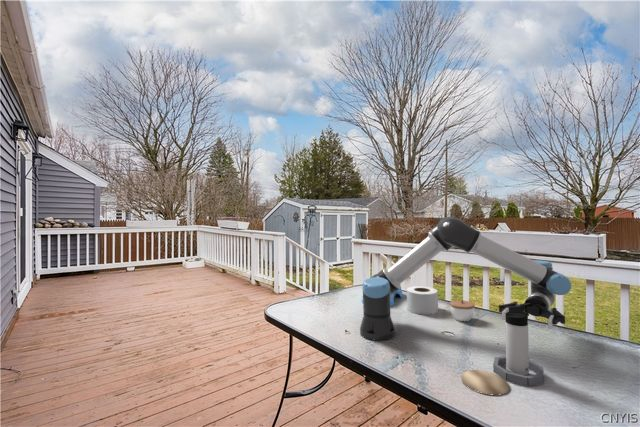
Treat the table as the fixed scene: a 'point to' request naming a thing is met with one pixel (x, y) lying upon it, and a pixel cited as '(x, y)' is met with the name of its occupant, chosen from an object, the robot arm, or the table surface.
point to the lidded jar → (462, 310)
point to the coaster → (485, 382)
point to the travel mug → (517, 342)
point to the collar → (518, 378)
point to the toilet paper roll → (422, 300)
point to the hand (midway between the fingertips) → (525, 320)
